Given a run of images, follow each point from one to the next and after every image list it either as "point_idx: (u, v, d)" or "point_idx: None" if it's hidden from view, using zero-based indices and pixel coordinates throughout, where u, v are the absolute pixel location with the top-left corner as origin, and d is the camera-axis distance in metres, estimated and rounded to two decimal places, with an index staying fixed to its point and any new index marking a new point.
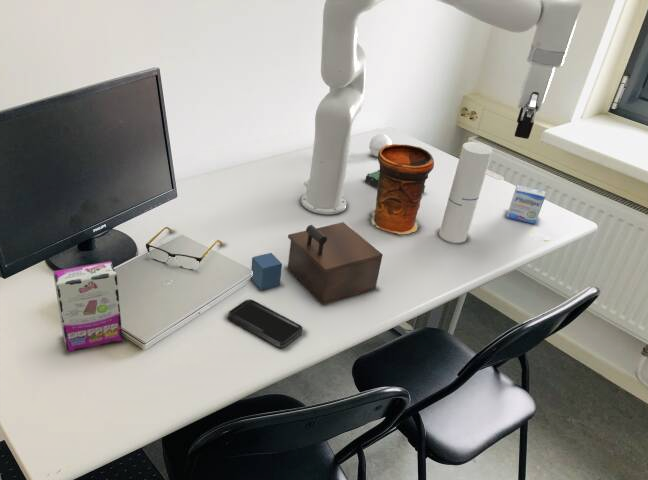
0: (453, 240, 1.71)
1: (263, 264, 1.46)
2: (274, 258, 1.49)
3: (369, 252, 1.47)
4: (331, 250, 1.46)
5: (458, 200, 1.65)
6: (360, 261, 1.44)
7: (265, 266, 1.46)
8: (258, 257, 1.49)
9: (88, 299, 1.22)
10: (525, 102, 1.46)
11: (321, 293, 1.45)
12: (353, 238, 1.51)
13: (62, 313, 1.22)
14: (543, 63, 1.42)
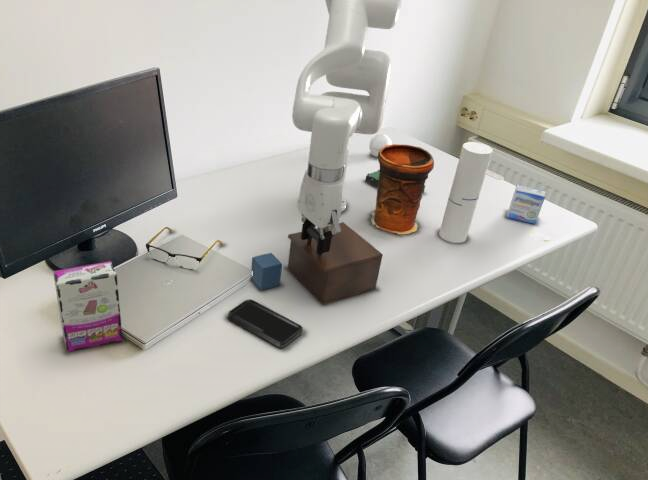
0: (453, 240, 1.71)
1: (263, 264, 1.46)
2: (274, 258, 1.49)
3: (369, 252, 1.47)
4: (331, 250, 1.46)
5: (458, 200, 1.65)
6: (360, 261, 1.44)
7: (265, 266, 1.46)
8: (258, 257, 1.49)
9: (88, 299, 1.22)
10: (327, 222, 1.36)
11: (321, 293, 1.45)
12: (353, 238, 1.51)
13: (62, 313, 1.22)
14: (333, 181, 1.32)
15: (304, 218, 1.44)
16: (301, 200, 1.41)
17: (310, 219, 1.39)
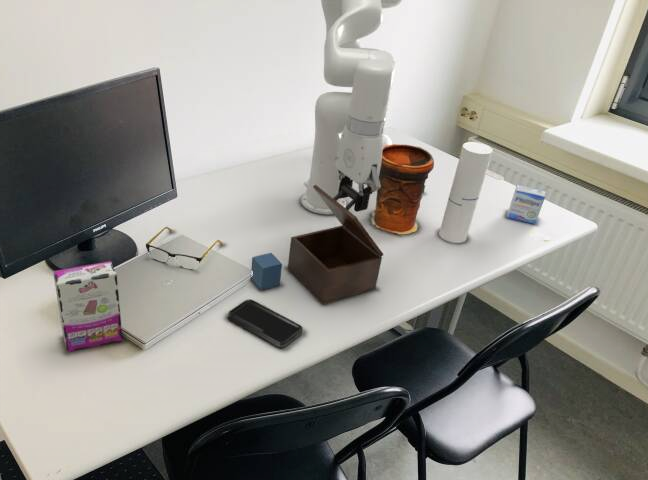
0: (453, 240, 1.71)
1: (263, 264, 1.46)
2: (274, 258, 1.49)
3: None
4: None
5: (458, 200, 1.65)
6: (372, 241, 1.42)
7: (265, 266, 1.46)
8: (258, 257, 1.49)
9: (88, 299, 1.22)
10: (367, 177, 1.34)
11: (321, 293, 1.45)
12: None
13: (62, 313, 1.22)
14: (374, 134, 1.31)
15: (341, 176, 1.42)
16: (339, 156, 1.39)
17: (349, 175, 1.37)
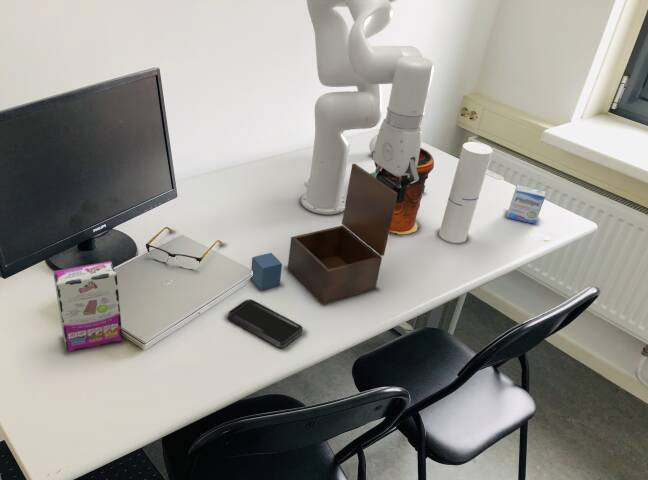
0: (453, 240, 1.71)
1: (263, 264, 1.46)
2: (274, 258, 1.49)
3: None
4: None
5: (458, 200, 1.65)
6: (388, 232, 1.43)
7: (265, 266, 1.46)
8: (258, 257, 1.49)
9: (88, 299, 1.22)
10: (405, 169, 1.39)
11: (321, 293, 1.45)
12: None
13: (62, 313, 1.22)
14: (413, 128, 1.35)
15: (378, 169, 1.47)
16: (377, 150, 1.43)
17: (387, 168, 1.42)
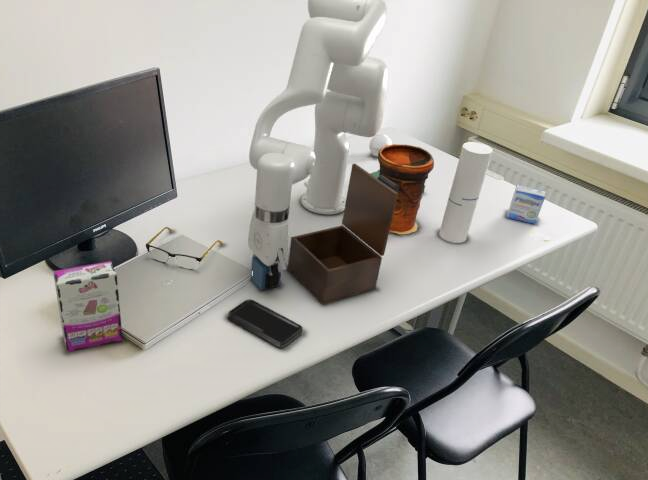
0: (453, 240, 1.71)
1: (263, 264, 1.46)
2: None
3: None
4: None
5: (458, 200, 1.65)
6: (388, 232, 1.43)
7: (265, 266, 1.46)
8: None
9: (88, 299, 1.22)
10: (274, 260, 1.42)
11: (321, 293, 1.45)
12: None
13: (62, 313, 1.22)
14: (278, 222, 1.38)
15: (255, 255, 1.50)
16: (250, 238, 1.46)
17: (258, 256, 1.45)
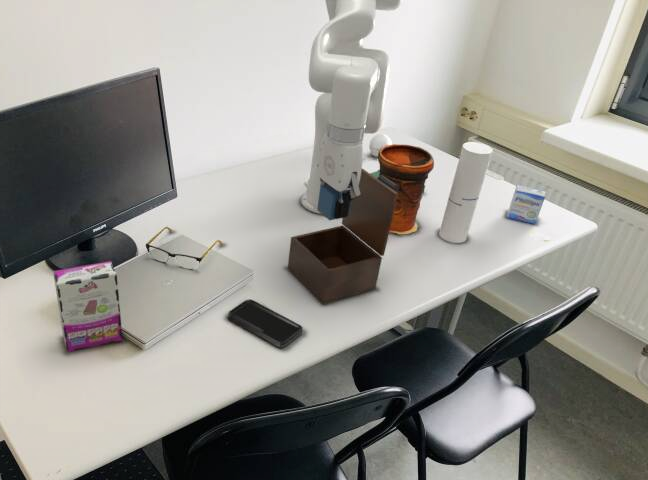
0: (453, 240, 1.71)
1: (332, 191, 1.38)
2: None
3: None
4: None
5: (458, 200, 1.65)
6: (388, 232, 1.43)
7: (335, 193, 1.37)
8: (327, 185, 1.40)
9: (88, 299, 1.22)
10: (347, 184, 1.33)
11: (321, 293, 1.45)
12: None
13: (62, 313, 1.22)
14: (354, 142, 1.29)
15: (323, 184, 1.41)
16: (320, 163, 1.38)
17: (329, 182, 1.36)
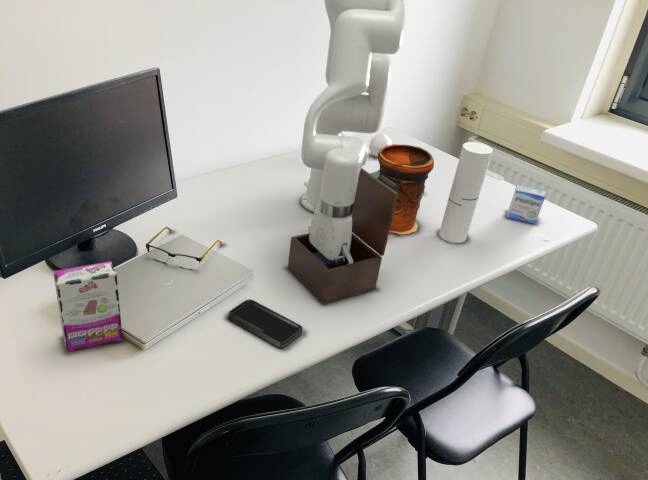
0: (453, 240, 1.71)
1: (323, 260, 1.48)
2: None
3: None
4: None
5: (458, 200, 1.65)
6: (388, 232, 1.43)
7: (326, 262, 1.47)
8: (318, 253, 1.50)
9: (88, 299, 1.22)
10: (337, 254, 1.43)
11: (321, 293, 1.45)
12: None
13: (62, 313, 1.22)
14: (344, 217, 1.40)
15: (313, 245, 1.52)
16: (312, 233, 1.48)
17: (321, 251, 1.46)
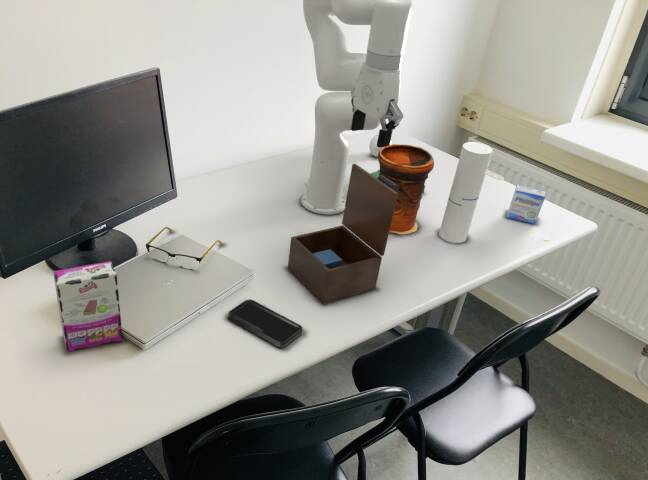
0: (453, 240, 1.71)
1: (323, 260, 1.48)
2: (334, 254, 1.50)
3: None
4: None
5: (458, 200, 1.65)
6: (388, 232, 1.43)
7: (326, 262, 1.47)
8: (318, 253, 1.50)
9: (88, 299, 1.22)
10: (385, 112, 1.38)
11: (321, 293, 1.45)
12: None
13: (62, 313, 1.22)
14: (392, 69, 1.34)
15: (355, 107, 1.46)
16: (357, 94, 1.42)
17: (367, 112, 1.41)
